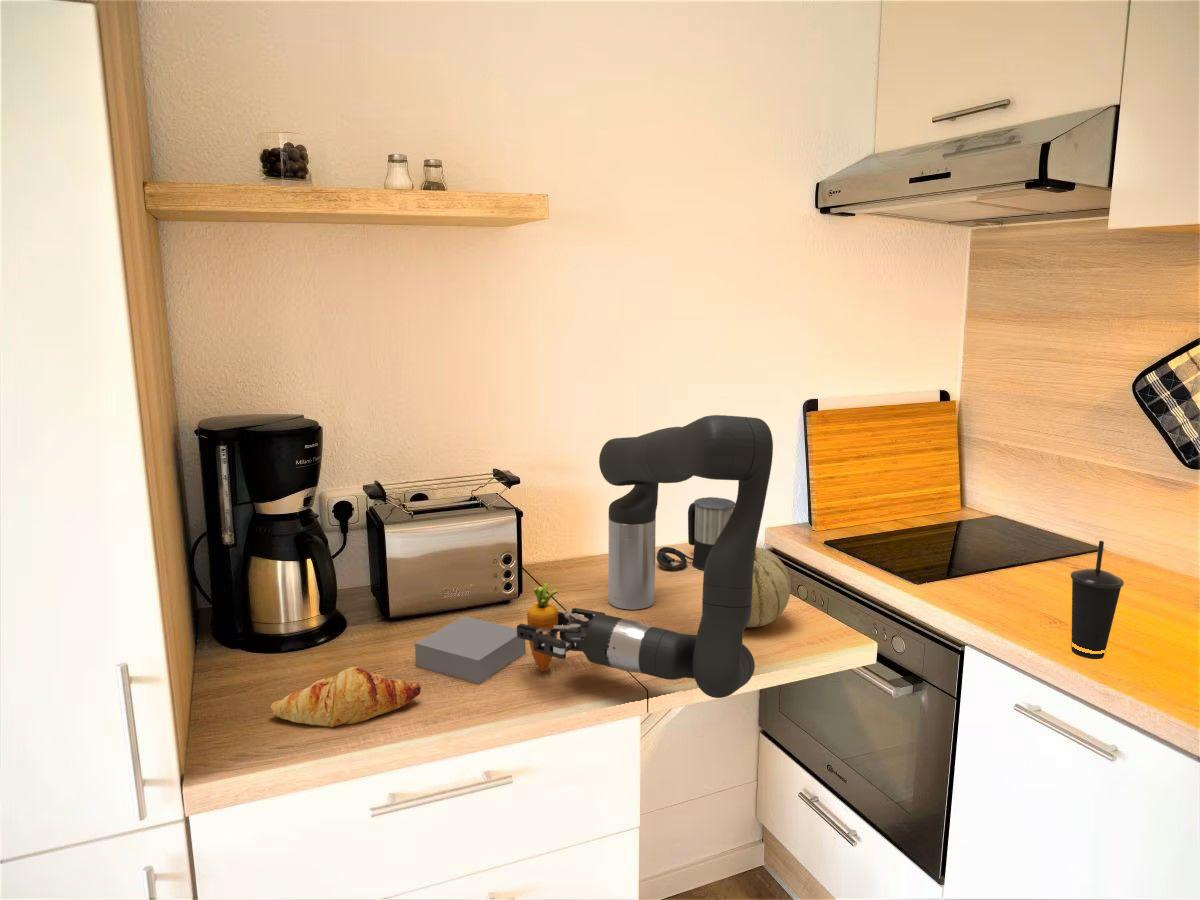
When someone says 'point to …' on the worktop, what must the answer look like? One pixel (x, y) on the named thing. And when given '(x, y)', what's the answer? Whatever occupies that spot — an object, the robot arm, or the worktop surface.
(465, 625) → the base block
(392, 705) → the croissant
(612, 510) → the robot arm
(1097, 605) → the drinking cup
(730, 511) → the milk frother
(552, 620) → the carrot
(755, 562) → the cantaloupe
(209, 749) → the worktop surface
